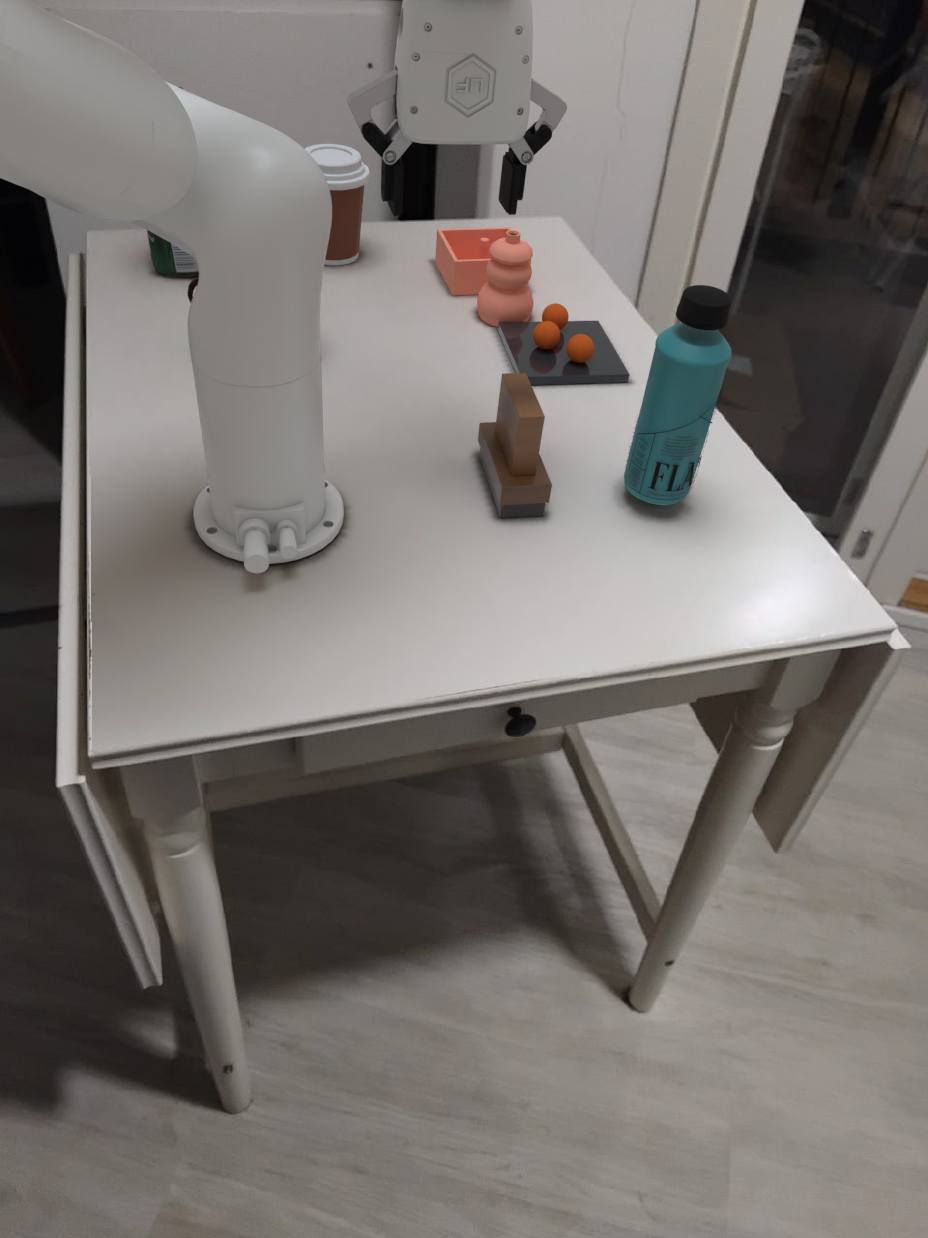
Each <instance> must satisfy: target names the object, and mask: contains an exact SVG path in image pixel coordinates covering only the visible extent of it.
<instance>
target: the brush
mask: <svg viewBox="0 0 928 1238" xmlns="http://www.w3.org/2000/svg"><path fill="white" fill-rule="evenodd" d="M545 419H546V415H545V413H544V411H543V409H542V407H541V403H540V401H539V400H538V397H537V395H536V392H535V390H534V388H533V385H531V384H530V381H529V379H528V377H527V375H526V373H516V372H506V373H505V372H504V373H501V378H500V387H499V395H498V402H497V411H496V419H495V421H491V422H490V421H486V422H485V421H484V422H479V425H478V432H477V433H478V434H477V442H478V446H479V453H478V457H479V459H480V462H481V465H482V468H483V471H484V475H485V477H486V480H487V483H488V486H489V490H490V492H491V495H492V498H493V502H494V504H495V507H496V510H497V512H498V516H499V518H500V519H510V518H526V517H527V518H528V517H542V516H544V513H545V508H546V504H548V503H550V499H551V494H552V489H553V483H552V481H551V479H550V476H549V474H548V471H547V468H546V466H545V464H544V461H543V459H542V456H541V455H540V454H541V453H540V450H541V443H542V437H543V432H544V425H545Z"/></svg>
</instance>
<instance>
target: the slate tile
mask: <svg viewBox="0 0 928 1238" xmlns="http://www.w3.org/2000/svg"><path fill="white" fill-rule="evenodd" d="M541 322H542V321H528V322H498V327H497V332H498V335H499V337H500V339H501V341H502V344H503V347H504V349H505V352H506V353H507V356H508V358H509V361H510V363H511V365H512V367H513V370H514V373H526V375H527V377H528V379H529V381H530V384H531V386H544V385H545V386H546V385H548V386H549V385H550V386H551V385H580V384H582V385H585V384H617V383H621V384H622V383H628V382H629V380H630V376H631V375H630V373H629V371H628V369H627V367H626V365H625V364H624V363H623V361H622V359H621V357H620V355H619V353H618V352H617V350H616V348H615V346H614V344H613V343H612V342H611V340H610V338H609V336H608V335H607V333H606V331H605V329H604V328H603V326H602V324H601V322H600V321H599V320H568V322H567V324H566V326H565V327H564V328H563V329H561V330H560V340H559V342H558V344H557V345H556V346H555V347H554V348H552V349H548V350H545V349H541V348H539V347H538V346H537V345H536V344H535V342H534V339H533V332H534V329H535V327H536V326H537V325H538V324H539V323H541ZM578 334H584V335H587V336H588V337H590V338H591V339H592V341H593V343H594V353H593V355H592V357H591V358H590V359H589V360H588V361H586V362H584V363H576V362H574V361H572V360H571V359H570V358H569V357H568V355H567V351H566V347H567V343H568V341H569V340H570V339H571V338H572V337H573V336H575V335H578Z"/></svg>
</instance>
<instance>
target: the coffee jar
mask: <svg viewBox="0 0 928 1238" xmlns="http://www.w3.org/2000/svg"><path fill="white" fill-rule="evenodd" d="M178 87H179V88H181V89H183V90H185V89H184V88H183V87H182V86H178ZM146 233H147V240H148V247H149V252H150V257H151V262H152V265H153V267H154V268H155V269H156V270H157V272H159V273H162V274H167V275H172V276H175V277H181V278H182V277H195V276H196V277H197V276H199V268H198V265H197V262H196V260H195V259H194V258H193V257H192V256H191V255H190V254H188V253H186V252H184V251H183V250H181V249H179V248H178V247H177V246H175V245H174V244H172V243H170V242H169V241H167V240H165V239H163V238H161V237H159V236H158V235H156V234H154V233H152V232H150V231H148V230H147V229H146Z"/></svg>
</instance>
